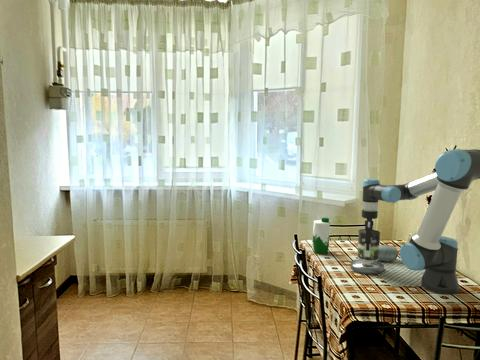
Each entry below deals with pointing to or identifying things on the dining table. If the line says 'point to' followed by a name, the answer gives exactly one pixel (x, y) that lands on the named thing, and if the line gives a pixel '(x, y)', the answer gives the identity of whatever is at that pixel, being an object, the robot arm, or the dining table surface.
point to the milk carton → (321, 236)
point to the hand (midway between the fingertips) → (367, 253)
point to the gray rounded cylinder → (387, 253)
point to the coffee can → (374, 246)
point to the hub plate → (367, 267)
